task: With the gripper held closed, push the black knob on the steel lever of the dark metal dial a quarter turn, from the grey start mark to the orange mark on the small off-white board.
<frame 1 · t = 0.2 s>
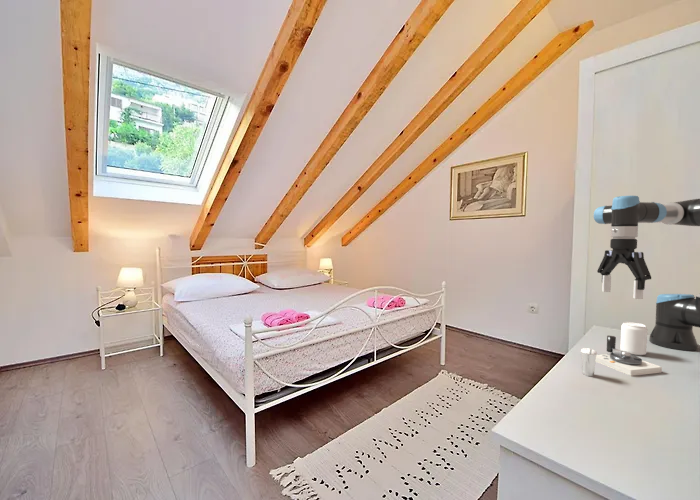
hand: (621, 295, 118), 27 cm above the table, tool pointing down, fingers open, 13 cm apart
dial board: (625, 366, 118), on the table
dial: (622, 349, 119), point 6 cm above the table, hinge at -90.0°
milkshake: (588, 375, 111), on the table
beverage can: (632, 353, 132), on the table
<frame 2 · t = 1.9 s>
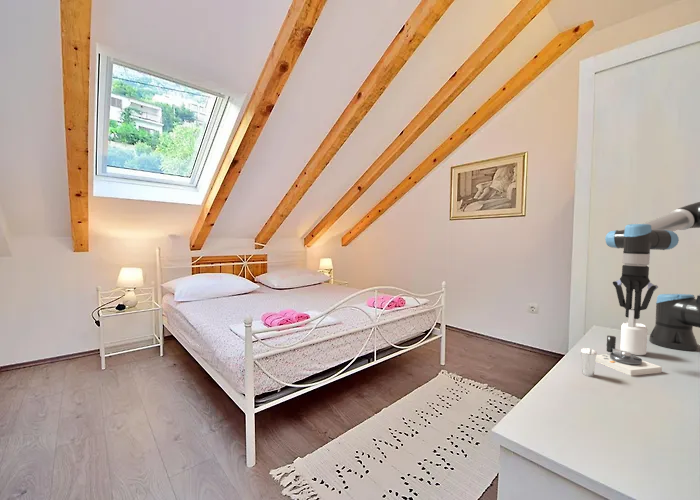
hand: (631, 326, 121), 14 cm above the table, tool pointing down, fingers closed
nothing on the table moved.
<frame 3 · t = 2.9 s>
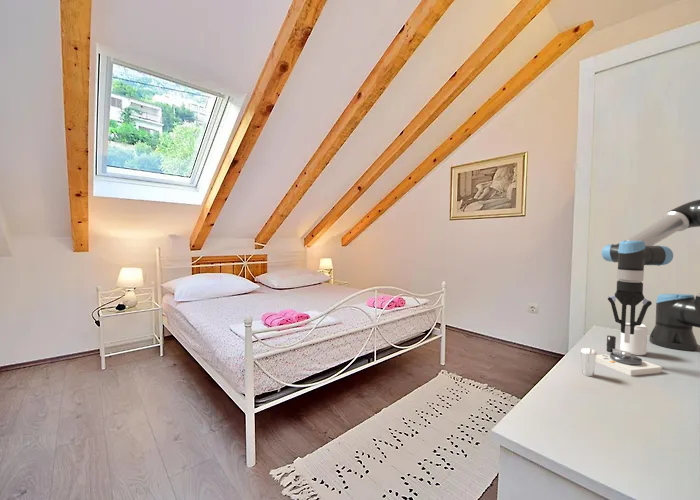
hand: (626, 341, 122), 8 cm above the table, tool pointing down, fingers closed
nothing on the table moved.
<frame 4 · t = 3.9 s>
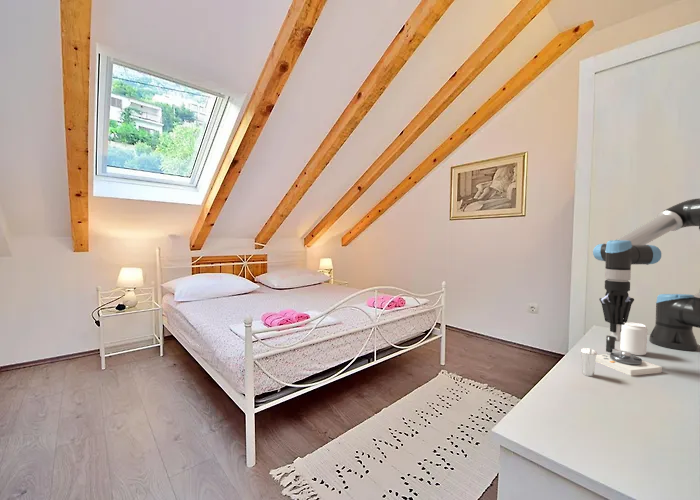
hand: (615, 340, 123), 8 cm above the table, tool pointing down, fingers closed
dial: (622, 349, 119), point 6 cm above the table, hinge at -86.6°, touching gripper
everything else where it was.
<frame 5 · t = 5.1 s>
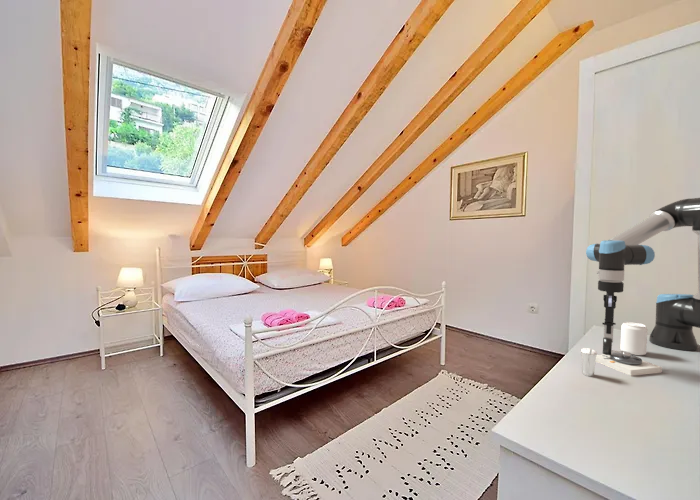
hand: (608, 341, 122), 8 cm above the table, tool pointing down, fingers closed
dial: (622, 350, 119), point 6 cm above the table, hinge at -43.8°, touching gripper
everything else where it was.
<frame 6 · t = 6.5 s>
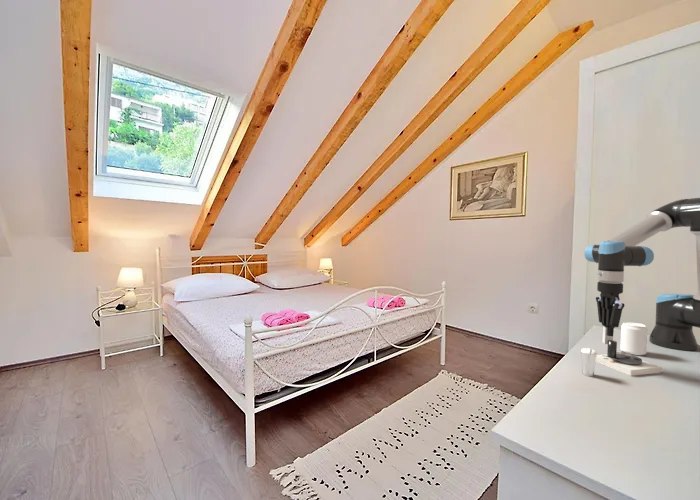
hand: (607, 343, 120), 8 cm above the table, tool pointing down, fingers closed
dial: (623, 350, 118), point 6 cm above the table, hinge at -9.1°
everything else where it was.
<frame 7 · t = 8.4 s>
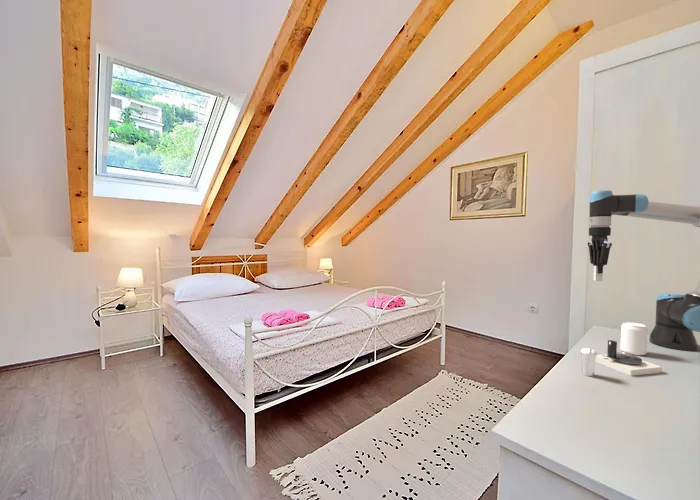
hand: (597, 280, 139), 29 cm above the table, tool pointing down, fingers closed
nothing on the table moved.
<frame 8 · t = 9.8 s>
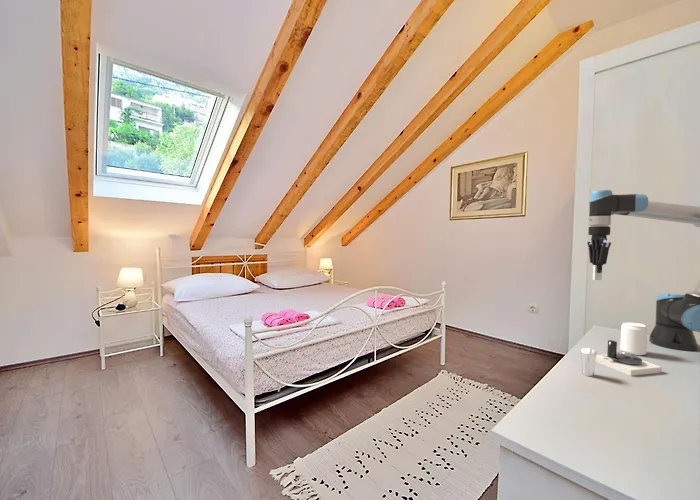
hand: (597, 279, 139), 29 cm above the table, tool pointing down, fingers closed
nothing on the table moved.
at the end: dial at -9° (first picture: -90°); beverage can moved 0.2 cm from its start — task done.
